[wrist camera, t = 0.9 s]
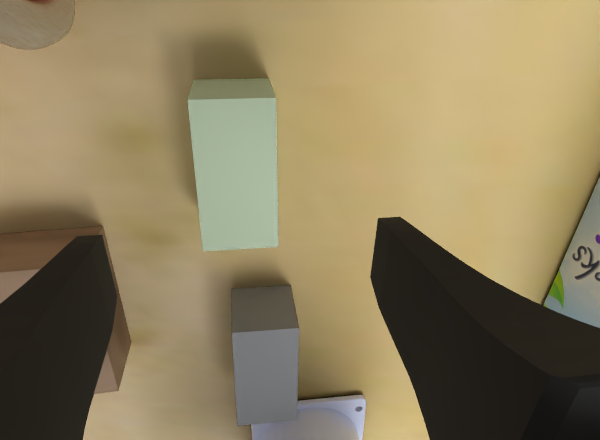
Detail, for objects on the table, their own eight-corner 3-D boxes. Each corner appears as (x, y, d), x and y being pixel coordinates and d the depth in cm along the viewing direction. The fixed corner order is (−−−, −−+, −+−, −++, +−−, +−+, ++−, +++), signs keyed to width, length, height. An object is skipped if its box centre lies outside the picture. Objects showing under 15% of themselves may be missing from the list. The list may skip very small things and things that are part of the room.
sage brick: (271, 208, 26) (278, 246, 22) (206, 212, 25) (202, 251, 22) (268, 77, 23) (276, 97, 19) (193, 78, 22) (187, 100, 19)
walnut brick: (132, 339, 29) (118, 390, 25) (28, 350, 28) (-1, 404, 25) (103, 224, 25) (83, 265, 22) (-17, 233, 24) (-58, 277, 21)
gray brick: (289, 369, 32) (296, 420, 28) (236, 374, 31) (237, 425, 28) (290, 283, 28) (299, 328, 25) (231, 287, 28) (231, 333, 24)
